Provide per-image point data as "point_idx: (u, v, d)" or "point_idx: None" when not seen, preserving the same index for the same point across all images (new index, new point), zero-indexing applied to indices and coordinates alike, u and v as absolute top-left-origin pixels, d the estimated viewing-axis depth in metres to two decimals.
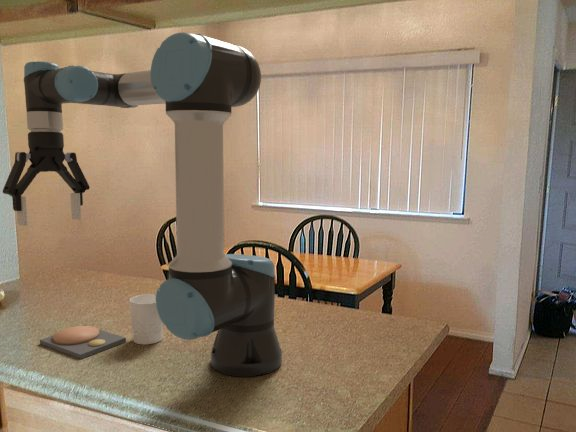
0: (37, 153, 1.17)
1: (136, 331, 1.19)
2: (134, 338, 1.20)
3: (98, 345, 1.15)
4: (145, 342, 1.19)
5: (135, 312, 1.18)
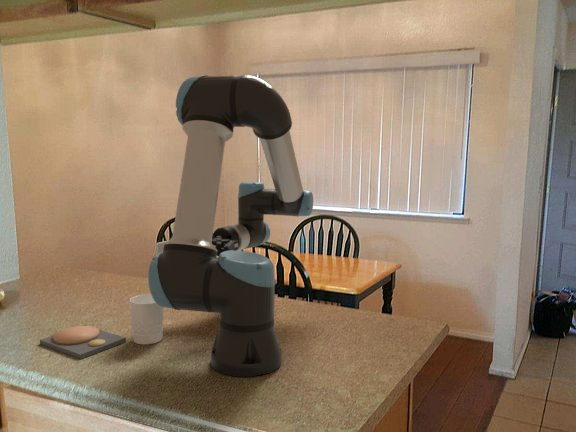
0: None
1: (136, 331, 1.19)
2: (134, 338, 1.20)
3: (98, 345, 1.15)
4: (145, 342, 1.19)
5: (135, 312, 1.18)
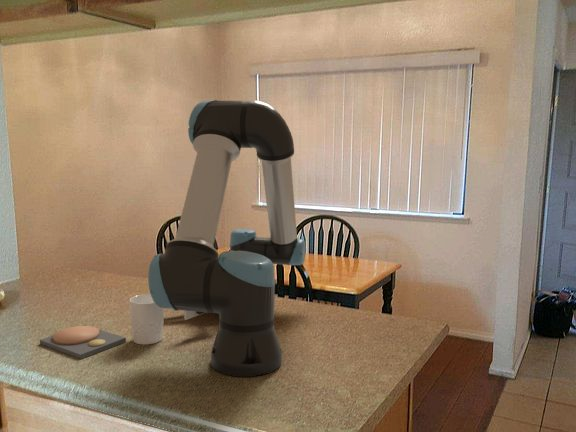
0: None
1: (136, 331, 1.19)
2: (134, 338, 1.20)
3: (98, 345, 1.15)
4: (145, 342, 1.19)
5: (135, 312, 1.18)
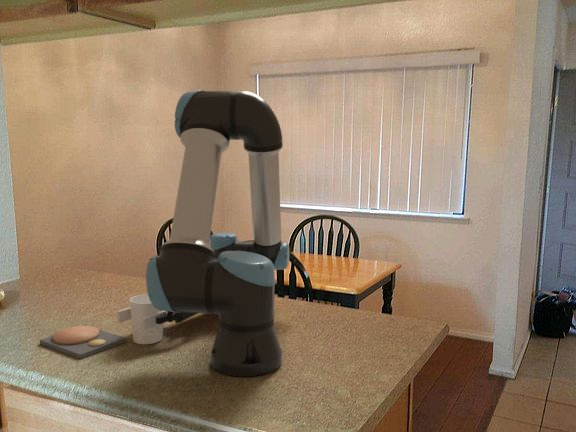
0: None
1: (136, 331, 1.19)
2: (134, 338, 1.20)
3: (98, 345, 1.15)
4: (145, 342, 1.19)
5: (135, 312, 1.18)
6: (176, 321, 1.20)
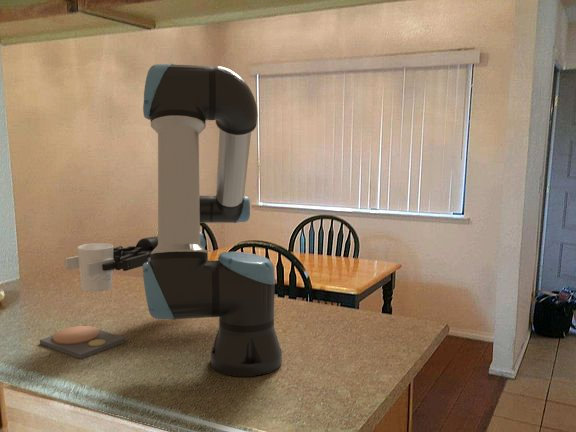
0: None
1: (83, 278, 1.18)
2: (82, 285, 1.19)
3: (98, 345, 1.15)
4: (92, 289, 1.18)
5: (82, 259, 1.17)
6: (123, 269, 1.19)
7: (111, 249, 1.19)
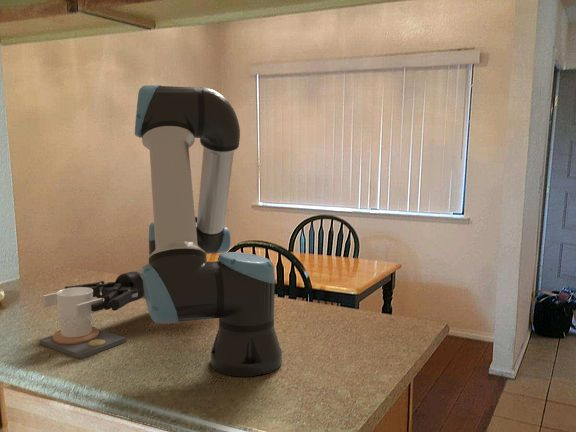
0: None
1: (62, 324, 1.17)
2: (61, 331, 1.18)
3: (98, 345, 1.15)
4: (72, 335, 1.17)
5: (61, 305, 1.16)
6: (113, 309, 1.18)
7: (90, 294, 1.19)
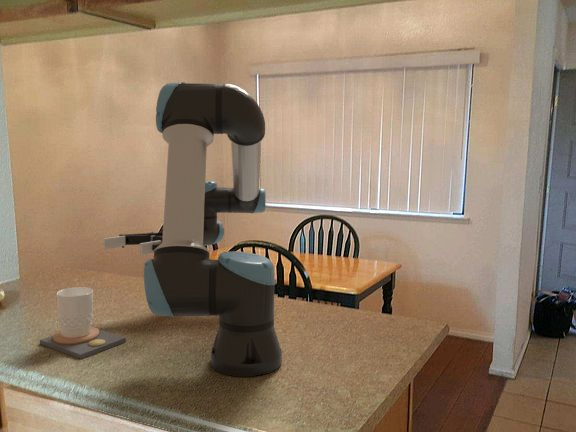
0: None
1: (62, 324, 1.17)
2: (61, 331, 1.18)
3: (98, 345, 1.15)
4: (72, 335, 1.17)
5: (61, 305, 1.16)
6: None
7: (91, 294, 1.19)
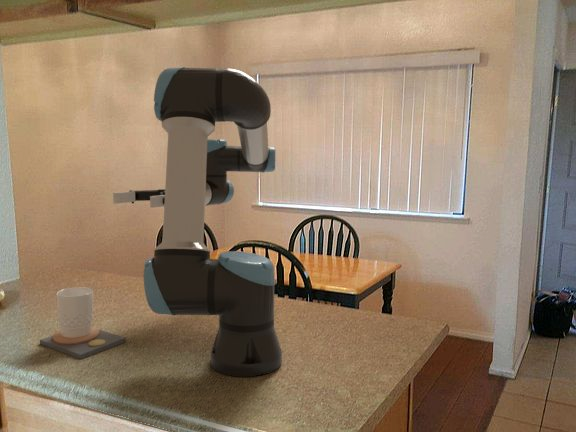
0: None
1: (62, 324, 1.17)
2: (61, 331, 1.18)
3: (98, 345, 1.15)
4: (72, 335, 1.17)
5: (61, 305, 1.16)
6: None
7: (91, 294, 1.19)
